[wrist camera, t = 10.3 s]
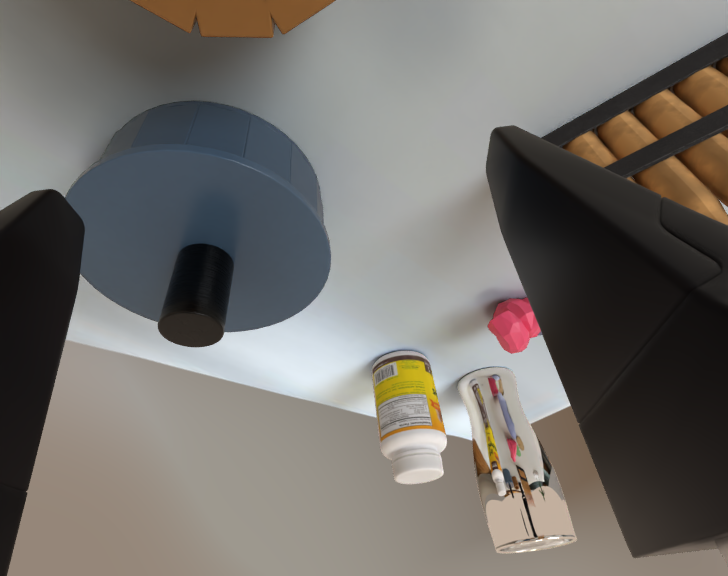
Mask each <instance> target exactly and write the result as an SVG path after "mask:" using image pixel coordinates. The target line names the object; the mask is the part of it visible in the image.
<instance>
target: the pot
mask: <svg viewBox="0 0 728 576" xmlns="http://www.w3.org/2000/svg"><path fill="white" fill-rule="evenodd" d="M154 144H188V145H196V146H202V147H209V148H214V149H218V150H221V151H225V152H229V153H232V154H235V155H238V156H241V157H243V158H246V159H248V160H251V161H253V162H255V163H257V164H259V165H261V166H263V167H265V168H267V169H269V170H271V171H273V172H274V173H276V174H277V175H279V176H280V177H282V178H283V179H285V180H286V181H287V182H289V183H290V184H291V185H292V186H293V187H295V188H296V189H297V190H298V191H299V192H300V193H301V194H302V195H303V196H304V197H305V198H306V199H307V200H308V201H309V202H310V203H311V205H312V206H313V207H314V209H315V210H316V212H317V213H318V215H319V216H320V218H321V220H322V222H323V224H324V221H323V205H322V200H321V194H320V187H319V184H318V180H317V176H316V174H315V172H314V170H313V168H312V166H311V164H310V163H309V161H308V160H307V158H306V156H305V155H304V154H303V152H302V151H301V150H300V149H299V148H298V146H297V145H296V144H295V143H294V142H293V141H292V140H291V139H289V138H288V137H287V136H286V135H285V134H284V133H283V132H281V131H280V130H279V129H277V128H276V127H274V126H273V125H272V124H270V123H268V122H266V121H265V120H263V119H261V118H259V117H258V116H255V115H253V114H251V113H248V112H246V111H244V110H241V109H237V108H234V107H231V106H228V105H223V104H218V103H212V102H200V101H186V102H175V103H170V104H165V105H160V106H158V107H155V108H152V109H149V110H147V111H145V112H143V113H141V114H139V115H138V116H136V117H134V118H133V119H132V120H131V121H129V122H128V123H127V124H126V125H124V127H123V128H122V129H121V130H119V131H118V132H116V134H115V135H114V136H113V138H112V140H111V142H110V143H109V145H108V147H107V149H106V150H105V152H104V154H103V156H102V157H101V159H103V158H105V157H107V156H109V155H111V154H114V153H117V152H120V151H123V150H126V149H129V148H135V147H140V146H145V145H154ZM101 159H100V160H101Z"/></svg>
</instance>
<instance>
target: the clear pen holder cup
mask: <svg viewBox="0 0 728 576" xmlns="http://www.w3.org/2000/svg"><path fill="white" fill-rule="evenodd" d="M457 389H458V392H459V394H460V396H461V398H462V400H463V403H464V405H465V407H466V410H467V412H468V416H469V419H470V424H471V431H472V441H473V454H474V465H475V473H476V480H477V486H478V490H479V495H480V499H481V503H482V507H483V510H484V514H485V517H486V520H487V523H488V526H489V530H490V533H491V535H492V539H493V542H494V545H495V549H496V552H498V553H520V552H529V551H537V550H543V549H549V548H554V547H558V546H563V545H567V544H570V543H573V542H575V541H576V540H577V537H576V535H575V532H574V529H573V525H572V522H571V518H570V515H569V512H568V507H567V504H566V501H565V498H564V495H563V492H562V489H561V486H560V483H559V481H558V478H557V476H556V473H555V471H554V468H553V466H552V464H551V462H550V460H549V458H548V456H547V454H546V452H545V450H544V448H543V447H542V445H541V443H540V441H539V439H538V438H537V436H536V434H535V432H534V430H533V429H532V427H531V425H530V423H529V421H528V419H527V417H526V416H525V413H524V411H523V408H522V406H521V403H520V399H519V395H518V389H517V382H516V377H515V374H514V372H513V371H511V370H509V369H507V368H502V367H491V368H484V369H480V370H477V371H474V372H472V373H470V374H468V375H466V376H464V377H463V378H462V379H461V380H460V381H459V382H458V385H457Z"/></svg>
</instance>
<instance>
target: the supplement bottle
mask: <svg viewBox="0 0 728 576" xmlns="http://www.w3.org/2000/svg"><path fill="white" fill-rule="evenodd" d="M372 380H373V389H374V397H375V406H376V415H377V422H378V432H379V440H380V448H381V452H382V454H383V455H384V456H385V457H386V458H388V459H390V460H391V462H392V468H393V474H394V479H395V481H396V482H398V483H403V484H418V483H425V482H429V481H433V480H435V479H438V478H440V477H441V476H442V475H443V473H444V472H443V466H442V458H441V456H440V453H441V452H442V451H443V450H444V449H445V447H446V444H447V439H446V433H445V429H444V424H443V420H442V415H441V411H440V406H439V402H438V397H437V393H436V389H435V384H434V380H433V375H432V371H431V367H430V363H429V361H428V359H427V358H426V357H425V356H424V355H422V354H420V353H418V352H414V351H397V352H392V353H389V354H386V355H384V356H382V357H381V358H379V359H378V360H377V361H376V362H375V363H374V365H373V367H372Z"/></svg>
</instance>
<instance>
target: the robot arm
mask: <svg viewBox="0 0 728 576" xmlns="http://www.w3.org/2000/svg"><path fill="white" fill-rule="evenodd" d="M486 174H487V178H488V182H489V186H490V190H491V194H492V198H493V202H494V206H495V210H496V214H497V218H498V222H499V225H500V229H501V232H502V235H503V238H504V241H505V243H506V246H507V248H508V251H509V253H510V256H511V258H512V261H513V263H514V266H515V268H516V271H517V273H518V275H519V278H520V280H521V283H522V285H523V288H524V290H525V293H526V295H527V298H528V300H529V303H530V305H531V308H532V310H533V313H534V315H535V318H536V320H537V322H538V325H539V327H540V330H541V332H542V335H543V337H544V340H545V342H546V345H547V347H548V350H549V352H550V355H551V357H552V360H553V362H554V365H555V367H556V369H557V372H558V374H559V377H560V379H561V382H562V384H563V387H564V389H565V392H566V394H567V397H568V399H569V402H570V404H571V406H572V409H573V412H574V414H575V416H576V419H577V421H578V423H580V424H579V427H580V430H581V432H582V434H583V437H584V439H585V442H586V444H587V447H588V449H589V452H590V454H591V457H592V459H593V462H594V464H595V467H596V469H597V472H598V474H599V477H600V479H601V481H602V484H603V486H604V489H605V491H606V494H607V496H608V499H609V501H610V503H611V506H612V509H613V511H614V514H615V516H616V518H617V521H618V524H619V526H620V528H621V531H622V533H623V536H624V538H625V541H626V543H627V546H628V548H629V550H630V552H631V554H632V556H633V557H634V558H640V557H649V556H657V555H666V554H674V553H683V552H691V551H700V550H709V549H717V548H718V549H719V550H720V552H721V554H722V556H723V558H724V560H725V561H726V563H727V565H728V225H726V224H724V223H721V222H719V221H716V220H714V219H712V218H709V217H707V216H705V215H703V214H701V213H698V212H696V211H694V210H692V209H690V208H687V207H685V206H683V205H681V204H679V203H677V202H675V201H673V200H671V199H668V198H666V197H663V198H661V195H660V194H658V193H656V192H653V191H651V190H649V189H647V188H645V187H643V186H641V185H639V184H637V183H634V182H632V181H630V180H628V179H626V178H624V177H622V176H620V175H618V174H615V173H613V172H611V171H609V170H607V169H605V168H603V167H601V166H599V165H596V164H594V163H592V162H590V161H588V160H586V159H584V158H582V157H580V156H577V155H575V154H573V153H571V152H569V151H567V150H565V149H563V148H561V147H558V146H556V145H554V144H552V143H550V142H548V141H546V140H544V139H542V138H539V137H537V136H535V135H533V134H531V133H529V132H527V131H525V130H523V129H521V128H518V127H516V126H504V127H497V128H495V129H493V131H492V133H491V136H490V142H489V149H488V155H487V162H486ZM84 235H85V226H84V222H83V220H82V219H81V217H80V216H79V215H78V214H77V212H76V211H75V210H74V209H73V208H72V206H71V205H70V204H69V203H68V202H67V200H66V199H65V198H64V197H63V196H62V195H61V194H60V193H59V192H58V191H56V190H53V189H46V190H39V191H33V192H31V193H29V194H27V195H25V196H24V197H22V198H21V199H19V200H17V201H16V202H14V203H12V204H11V205H9V206H7V207H6V208H4V209H2V210H1V211H0V576H7V573H8V569H9V565H10V561H11V557H12V553H13V549H14V544H15V540H16V537H17V533H18V529H19V525H20V521H21V517H22V513H23V509H24V505H25V501H26V497H27V492H26V491H27V490H28V487H29V483H30V479H31V475H32V471H33V466H34V463H35V459H36V455H37V451H38V447H39V443H40V439H41V435H42V431H43V427H44V423H45V419H46V415H47V411H48V407H49V403H50V399H51V395H52V391H53V387H54V383H55V379H56V375H57V371H58V367H59V363H60V359H61V355H62V351H63V347H64V343H65V339H66V335H67V331H68V327H69V323H70V319H71V315H72V311H73V307H74V303H75V299H76V295H77V290H78V284H79V276H80V268H81V260H82V251H83V243H84Z"/></svg>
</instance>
